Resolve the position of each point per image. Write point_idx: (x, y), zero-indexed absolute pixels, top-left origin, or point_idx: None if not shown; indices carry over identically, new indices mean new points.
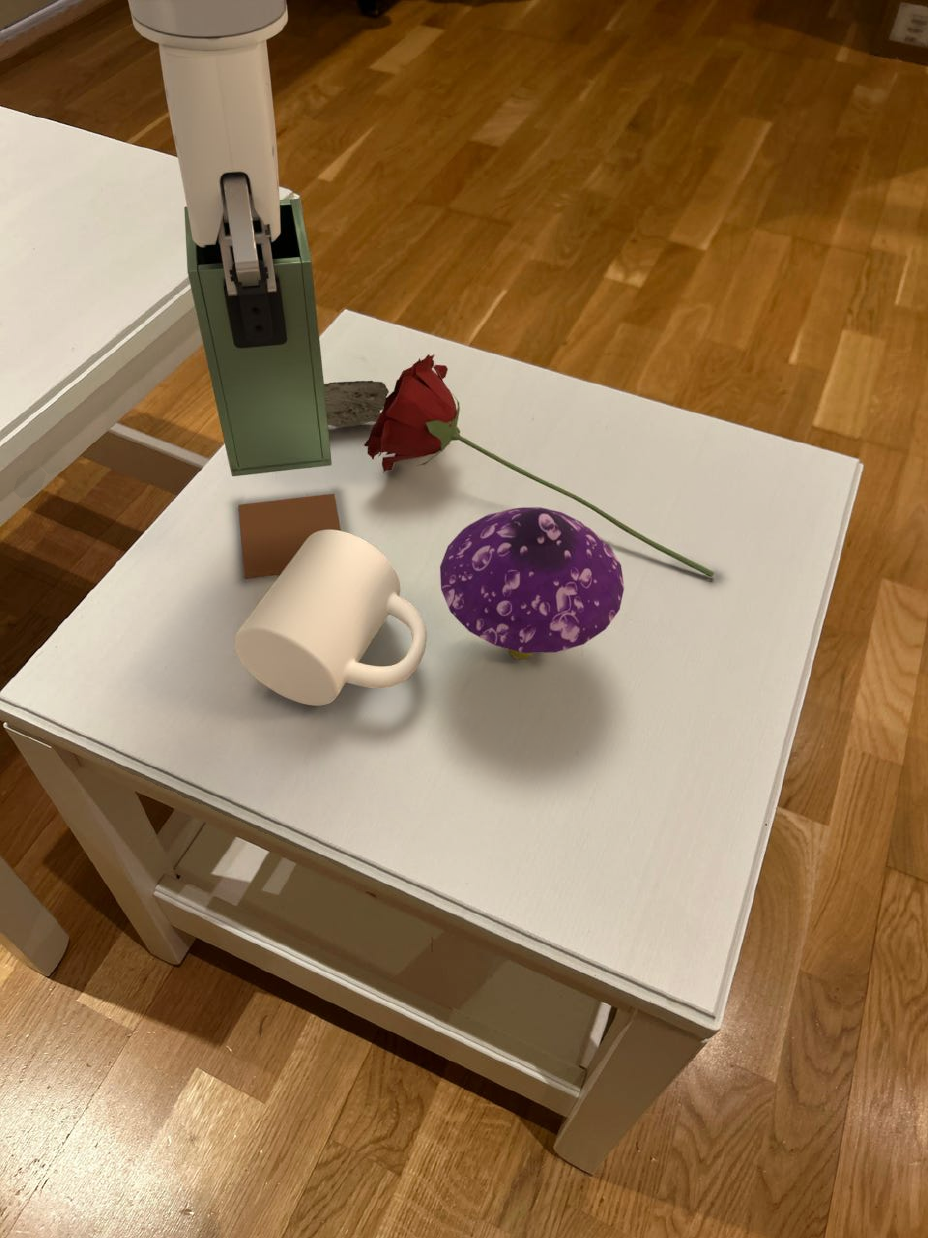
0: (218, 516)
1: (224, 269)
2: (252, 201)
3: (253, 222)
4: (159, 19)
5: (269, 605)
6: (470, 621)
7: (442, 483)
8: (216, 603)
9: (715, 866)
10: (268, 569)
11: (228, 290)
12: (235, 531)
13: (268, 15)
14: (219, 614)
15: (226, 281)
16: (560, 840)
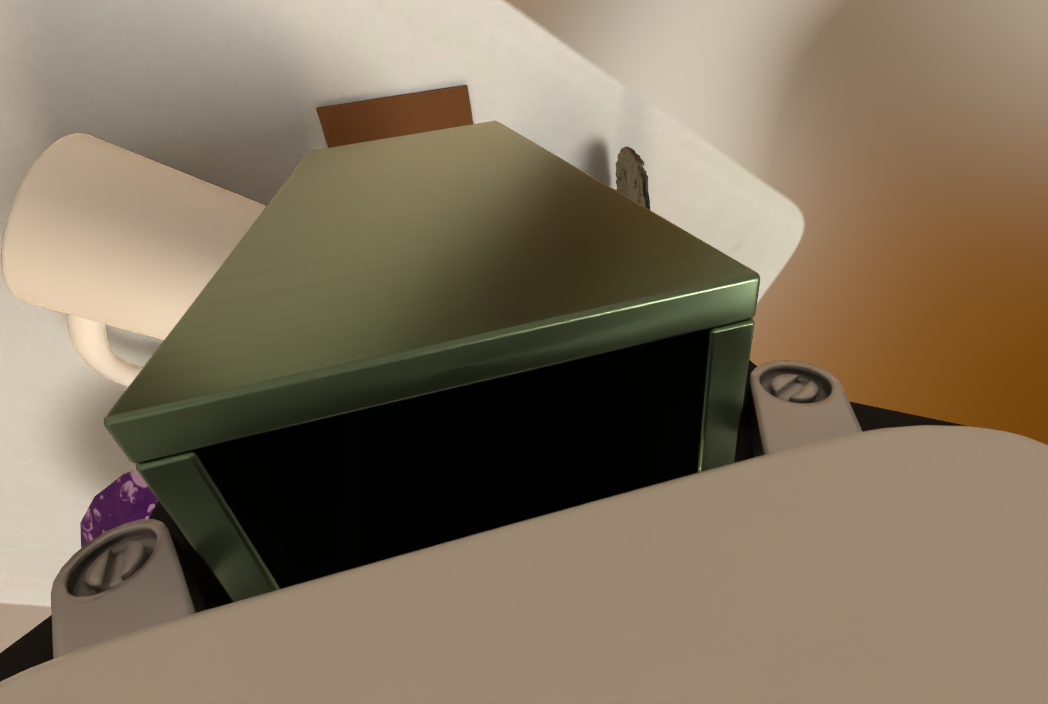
0: (444, 51)
1: (54, 649)
2: None
3: (662, 474)
4: None
5: (83, 218)
6: (102, 503)
7: None
8: (258, 63)
9: (38, 587)
10: (337, 145)
11: (55, 580)
12: (414, 83)
13: None
14: (236, 70)
15: (56, 606)
16: (7, 485)
